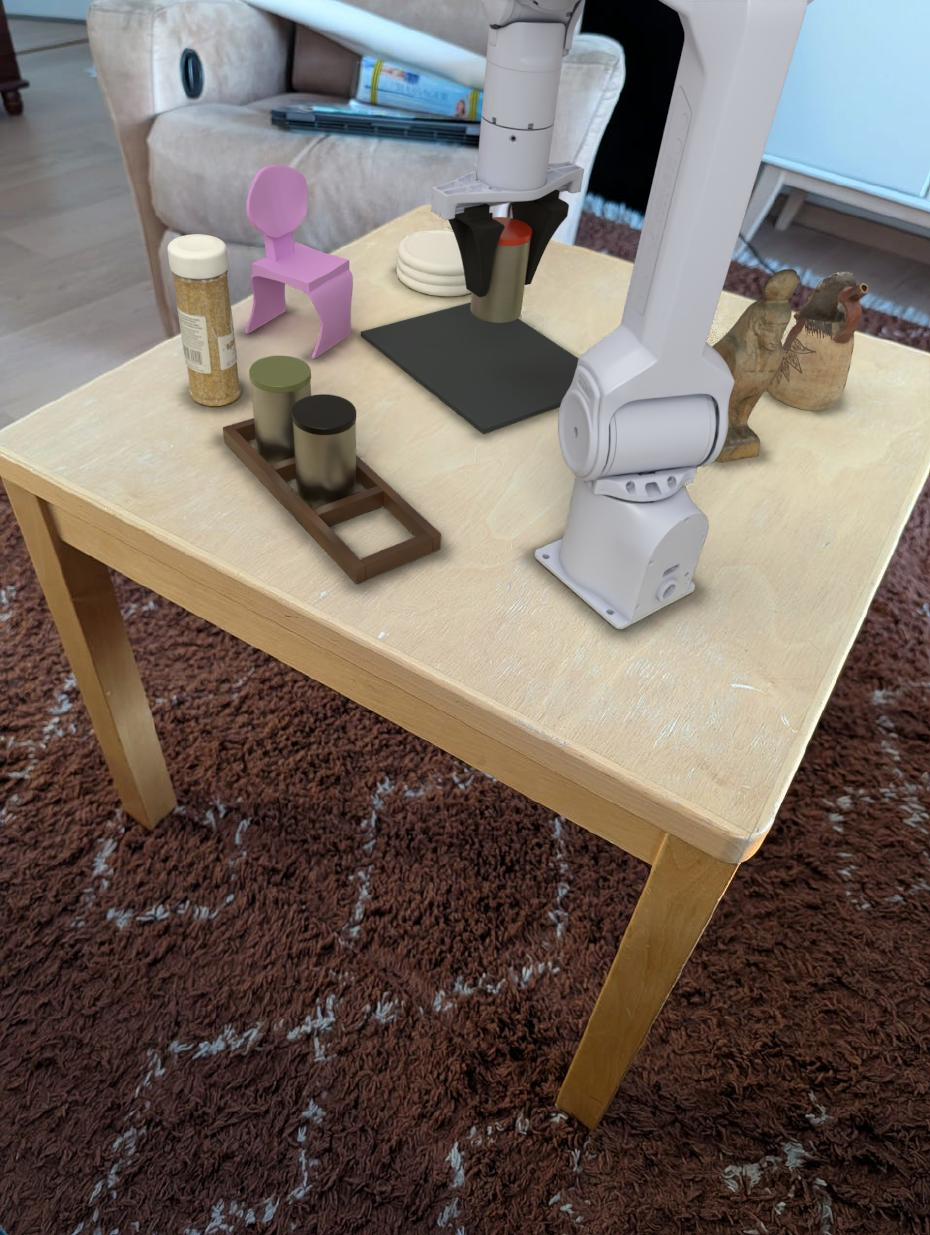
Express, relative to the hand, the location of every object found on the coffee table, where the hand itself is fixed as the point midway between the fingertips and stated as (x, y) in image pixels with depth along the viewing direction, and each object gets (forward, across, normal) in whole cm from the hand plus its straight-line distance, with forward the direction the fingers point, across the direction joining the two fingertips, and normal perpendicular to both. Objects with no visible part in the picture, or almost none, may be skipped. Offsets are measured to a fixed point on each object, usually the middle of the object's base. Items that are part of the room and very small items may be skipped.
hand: (499, 286), depth 81 cm
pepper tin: (+9, +23, +8) cm, 26 cm away
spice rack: (+9, +23, +8) cm, 26 cm away
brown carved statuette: (+9, -12, +16) cm, 23 cm away
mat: (+9, -1, -2) cm, 9 cm away
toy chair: (+9, +12, -16) cm, 21 cm away
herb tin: (+9, +23, +1) cm, 24 cm away
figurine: (+9, -25, +18) cm, 32 cm away
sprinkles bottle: (+9, +24, -10) cm, 27 cm away
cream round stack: (+9, -8, -20) cm, 23 cm away
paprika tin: (+2, 0, 0) cm, 2 cm away
